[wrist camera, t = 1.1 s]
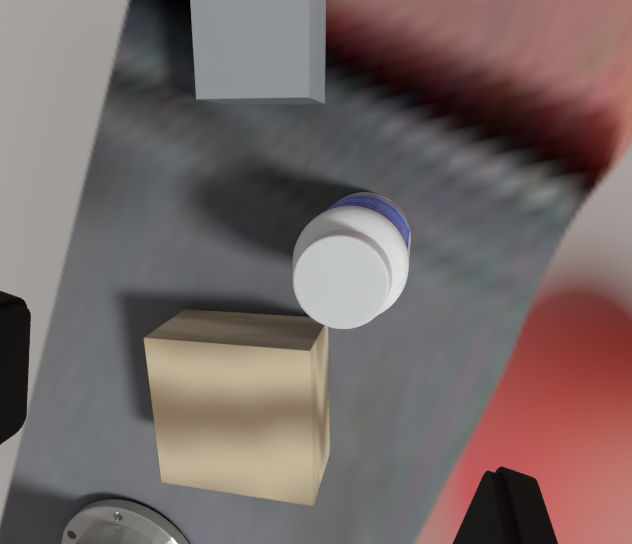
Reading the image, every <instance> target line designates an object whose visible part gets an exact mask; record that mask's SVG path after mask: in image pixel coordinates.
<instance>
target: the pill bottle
mask: <svg viewBox="0 0 632 544" xmlns="http://www.w3.org/2000/svg"><path fill="white" fill-rule="evenodd" d="M410 242H411V233H410V227H409V223H408V220H407V218H406V216H405V214H404V213H403V211H402V210H401V209H400V208H399V207H398V206H397V205H396V204H395V203H394V202H393V201H391V200H390V199H388V198H386V197H384V196H382V195H379V194H375V193H369V192H361V193H355V194H351V195H348V196H346V197H344V198H342V199H340V200H339V201H337V202H336V203H335V204H333V205H332V206H331V207H329V208H328V209H327V210H325V211H324V212H322V213H321V214H320V215H318V216H317V217H316V218H314V219H313V220H312V221H311V222H310V223H309V224H308V225H307V226H306V227H305V228H304V230H303V231H302V233H301V234H300V236H299V238H298V240H297V242H296V245H295V248H294V252H293V289H294V292H295V296H296V298H297V300H298V302H299V304H300V306H301V307H302V308H303V310H304V311H305V312H306V313H307V314H308V315H309V316H310V317H311V318H312V319H314V320H315V321H317V322H319V323H321V324H323V325H325V326H328V327H331V328H337V329H350V328H355V327H359V326H361V325H363V324H366V323H368V322H369V321H370V320H372V319H373V318H374V317H376V316H377V315H379V314H380V313H382V312H384V311H385V310H387V309H388V308H389V307H390V306H391V305H392V304H393V303H394V302H395V301H396V300H397V299H398V297H399V296H400V294H401V292H402V291H403V289H404V286H405V284H406V281H407V277H408V270H409V252H410Z"/></svg>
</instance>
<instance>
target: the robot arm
mask: <svg viewBox="0 0 632 544" xmlns="http://www.w3.org/2000/svg"><path fill="white" fill-rule="evenodd" d="M30 321H31V314H30V311H29V309H27V305H26V303H25V301H24V300H23V299H21V298H19V297H16V296H13V295H11V294H8V293H5V292H2V291H0V444H2V443H3V442H4V441H6V440H7V439H9V438H10V437H12V436H13V435H14V434H16V433H17V432H18V431H19V430H20V428H21V427H22V426H23V424H24V422H25V419H26V415H27V391H28V368H29V345H30ZM61 544H189V543H188V542H187V540H186V539H185V537H184V536H183V535H182V534H181V533H180V532H179V531H178V530H177V529H176V527H175V526H174V525H173V524H172V523H170V522H169V521H168V520H166V519H165V518H164V517H162V516H161V515H160V514H158V513H156V512H154V511H153V510H151V509H149V508H147V507H145V506H142V505H139V504H137V503H134V502H129V501H125V500H116V499H106V500H100V501H96V502H93V503H91V504H88V505H86V506H85V507H84V508H82V509H81V510H80V511H79V512H78V513H77V514H76V515H75V516H74V517H73V518H72V519H71V520H70V521H69V523H68V524H67V526H66V528H65V529H64V532H63V537H62V541H61ZM453 544H558V542H557V539H556V536H555V533H554V530H553V527H552V524H551V522H550V518H549V515H548V512H547V509H546V506H545V503H544V500H543V497H542V494H541V491H540V488H539V485H538V483H537V480H536V479H535V478H533V477H531V476H528V475H525V474H522V473H519V472H516V471H514V470H511V469H508V468H505V467H499V468H498V469H497V470H496V472H495V473H494V472H491V471H486V472H485V473H484V475H483V477H482V479H481V482H480V484H479V486H478V488H477V491H476V493H475V495H474V497H473V499H472V502H471V504H470V506H469V508H468V511H467V513H466V515H465V517H464V520H463V522H462V524H461V526H460V528H459V531H458V533H457V535H456V537H455V540H454V542H453Z"/></svg>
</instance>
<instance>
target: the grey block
mask: <svg viewBox="0 0 632 544" xmlns="http://www.w3.org/2000/svg"><path fill="white" fill-rule="evenodd" d="M190 4H191V20H192V37H193V54H194V70H195V87H196V99H198V100H203V101H208V102H213V103H218V104H222V105H282V104H325V25H326V0H190Z"/></svg>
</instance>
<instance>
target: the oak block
mask: <svg viewBox="0 0 632 544" xmlns="http://www.w3.org/2000/svg"><path fill="white" fill-rule="evenodd" d="M144 344H145V352H146V360H147V368H148V376H149V384H150V392H151V400H152V408H153V416H154V425H155V433H156V441H157V449H158V457H159V465H160V473H161V481H162V482H163V483H169V484H176V485H182V486H189V487H195V488H201V489H208V490H214V491H221V492H227V493H233V494H240V495H246V496H253V497H259V498H266V499H272V500H278V501H285V502H291V503H298V504H304V505H310V506H314V503H315V500H316V496H317V493H318V490H319V486H320V483H321V480H322V477H323V473H324V470H325V467H326V464H327V460H328V457H329V454H330V434H329V345H328V326H325V325H323V324H321V323H319V322H317V321H315V320H314V319H312V318H311V317H301V316H285V315H270V314H254V313H239V312H223V311H207V310H192V309H185V310H183V311H182V312H180V313H179V314H178V315H176V316H175V317H173V318H172V319H170V320H169V321H167V322H166V323H164V324H163V325H161V326H160V327H159V328H157V329H156V330H154V331H153V332H151V333H150V334H148V335H147V336H145V337H144Z"/></svg>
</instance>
